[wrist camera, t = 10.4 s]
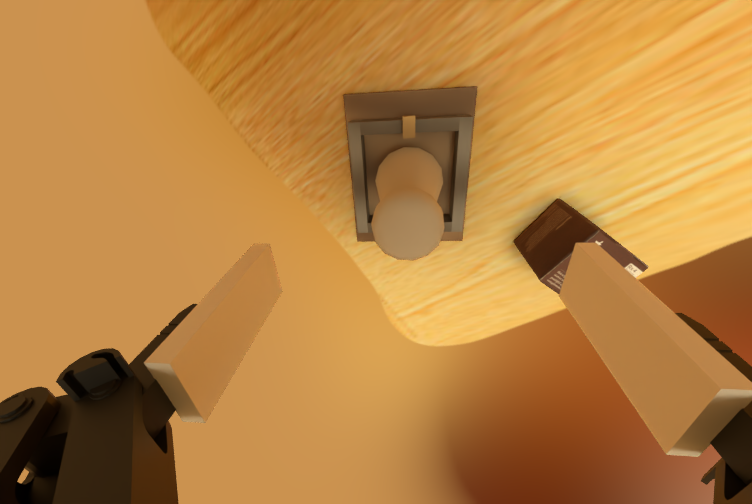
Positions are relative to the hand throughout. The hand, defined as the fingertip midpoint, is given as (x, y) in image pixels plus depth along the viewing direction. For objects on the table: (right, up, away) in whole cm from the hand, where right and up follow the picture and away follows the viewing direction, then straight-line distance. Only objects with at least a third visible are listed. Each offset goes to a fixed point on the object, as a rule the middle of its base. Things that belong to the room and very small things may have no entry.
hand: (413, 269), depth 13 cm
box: (+17, +3, +18) cm, 25 cm away
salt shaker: (+1, +8, +15) cm, 17 cm away
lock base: (+1, +9, +16) cm, 18 cm away
